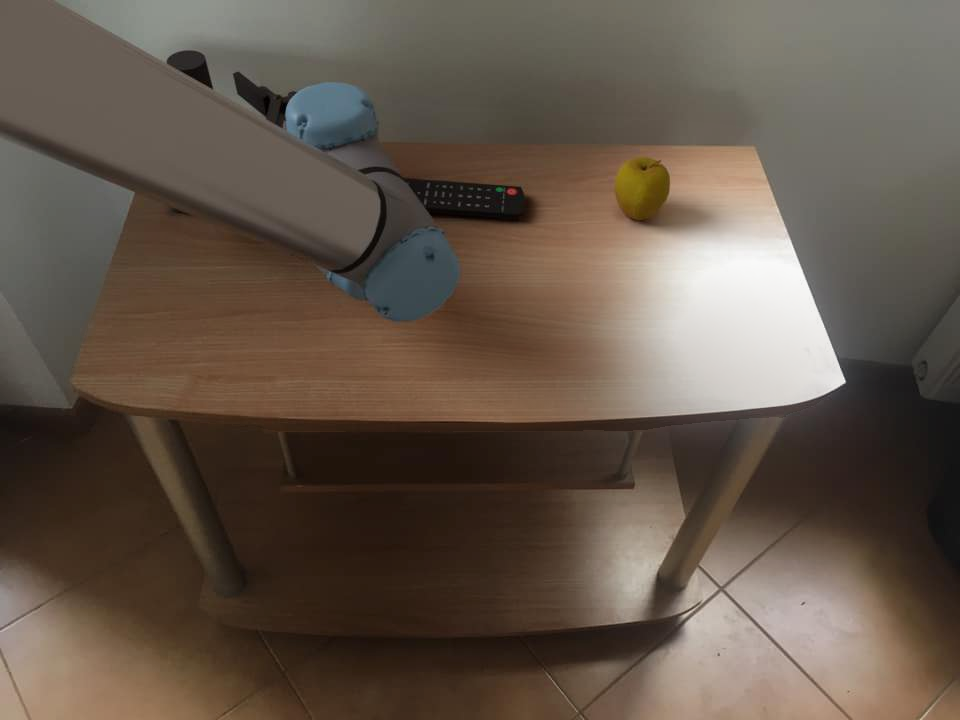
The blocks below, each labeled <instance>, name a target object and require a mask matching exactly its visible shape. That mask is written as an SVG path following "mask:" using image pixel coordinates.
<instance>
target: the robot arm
mask: <svg viewBox="0 0 960 720" xmlns="http://www.w3.org/2000/svg"><path fill="white" fill-rule="evenodd" d="M232 77H233V80H234V81H233V82H234V85H235V90H236V95H238V96H239V97H240V98H242V100H244V101H245V102H246V103H248V104H249V105H250V106H251V107H252V108H254V109H255V110H256V111H257V112H259V113H260V114H261V115H262V116H261V115H259V114H257V113H256V112H254V111H252V110H250V109H248V108H246V107H245V106H243V105H241V104H240V103H237V102H236V101H234V100H232V99H231V98H228V97H227V96H225V95H224V94H222V93H220V92H218V91H216V90H214V88H213V89H211V88H209V87H207V86H206V85H204V84H202V83H200V82H199V81H197V80H195V79H193V78H191V77H190V76H188V75H186V74H184V73H182V72H181V71H179V70H177V69H175V68H174V67H172V66H170V65H168V64H167V62H165V61H163V60H161V59H159V58H158V57H155V56H154V55H153V54H150V53H149V52H147V51H145V50H143V49H141V48H140V47H138V46H136V45H135V44H132V43H131V42H129V41H128V40H125V39H124V38H122V37H120V36H118V35H116V34H115V33H113V32H111V31H109V30H108V29H106V28H104V27H102V26H101V25H99V24H98V23H95V22H94V21H91V20H90V19H88V18H86V17H85V16H83V15H81V14H79V13H78V12H76V11H73V10H72V9H70V8H68V7H67V6H65V5H63V4H61V3H60V2H57V1H56V0H0V139H3V140H5V141H7V142H10V143H13V144H15V145H17V146H19V147H22V148H25V149H27V150H29V151H32V152H35V153H36V154H39V155H42V156H44V157H46V158H50V159H52V160H55V161H56V162H58V163H62V164H64V165H67V166H69V167H72V168H74V169H77V170H79V171H82V172H84V173H87V174H89V175H92V176H94V177H96V178H99V179H101V180H104V181H106V182H109V183H111V184H113V185H116V186H119V187H121V188H124V189H126V190H128V191H131V192H133V193H136V194H138V195H141V196H143V197H146V198H149V199H151V200H153V201H156V202H159V203H161V204H164V205H165V206H168V207H171V208H172V209H173V208H175V209H178V210H180V211H183V212H182V213H186V214H188V215H190V216H193V217H195V218H198V219H201V220H203V221H205V222H208V223H210V224H212V225H215V226H218V227H221V228H223V229H225V230H228V231H229V232H233V233H235V234H237V235H240V236H242V237H245V238H247V239H249V240H253V241H255V242H257V243H260V244H262V245H265V246H267V247H270V248H273V249H275V250H277V251H279V252H282V253H285V254H287V255H290V256H292V257H295V258H297V259H299V260H301V261H305V262H307V263H309V264H311V265H313V266H314V267H315V268H316V269H317V270H318V271H320V272H321V273H322V274H323V275H324V276H325V277H326V279H327V282H329V283H330V284H332V285H334V286H336V287H337V288H338V289H339V290H341V291H342V292H344V294H346V295H347V296H348V297H350V298H352V299H354V300H357V301H367V302H369V303H370V304H371V305H372V307H373V309H375V311H376V312H377V314H378V315H380V316H381V317H383V318H384V319H386V320H389V321H391V322H395V323H407V322H414V321H418V320H421V319H423V318H426V317H427V316H430V315H432V314H433V313H435V312H436V311H437V310H439V309H440V308H442V307H443V305H444V303H445V302H446V301H448V300H449V298H450V297H451V296H452V295H454V293H455V291H456V289H457V287H458V284H459V281H460V279H461V278H460V277H461V265H460V260H459V258H458V255H457V254H456V252H455V251H454V249H453V247H452V245H451V243H450V241H449V240H448V238H447V234H446V233H445V231H444V230H443V228H441V227H440V226H439V225H438V224H437V222H436V221H435V220H434V218H433V217H432V215H431V214H430V212H428V211H427V210H426V209H425V207H424V206H423V205H422V203H421V202H420V201H419V199H418V198H417V196H416V195H415V194H414V192H413V191H412V190H411V188H410V187H409V185H408V184H407V183H406V181H405V180H404V178H405V177H403V175H402V174H401V172H400V170H399V169H398V168H397V167H396V165H395V164H394V162H393V161H392V159H391V158H390V156H389V155H388V154H387V152H386V150H385V149H384V148H383V147H382V145H381V143H380V140H379V130H380V123H379V121H378V118H377V114H376V113H377V112H376V106H375V103H374V101H373V99H372V97H371V96H370V95H369V94H368V93H367V92H366V91H365V90H363V89H362V88H360V87H358V86H356V85H353V84H349V83H345V82H338V81H326V82H322V83H318V84H312V85H309V86H306V87H303V88H302V89H300V90H299V91H295V90H293V91H289V92H288V93H287V95H285V96H283V95H281V94H279V93H277V94H276V93H274V92H273V91H272V90H271V89H269V88H268V87H267V86H265V85H260V86H258V85H256V84H255V83H254V82H253V81H251V80H250V79H249V78H248V77H246V76H245V75H244V74H243V73H242V72H240V71H239V70H238V71H236V72H233V73H232ZM263 116H264V117H265V118H264V117H263ZM284 123H286V130H285V129H284Z"/></svg>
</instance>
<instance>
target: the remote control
mask: <svg viewBox="0 0 960 720" xmlns="http://www.w3.org/2000/svg"><path fill="white" fill-rule="evenodd" d="M403 178H404V180H405V181H406V183H407V184H408V185H409V187H410V188H411V190H412V191H413V192H414V194H415V195H416V196H417V198H418V199H419V201H420V202H421V203H422V205H423V206H424V207H425V209H426V210H427V211H428V213H429V214H430V213H432V214H443V215H445V214H446V215H459V216H472V217H486V218H497V219H511V220H520V219H521V218H522V217H523V215H524V211H525V203H526V198H525V192H524V190H523V188H522V186H519V185H503V184H490V183H478V182H477V183H476V182H463V181H450V180H449V181H448V180H439V179H438V180H437V179H436V180H435V179H424V178H408V177H403Z"/></svg>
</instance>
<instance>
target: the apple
mask: <svg viewBox="0 0 960 720" xmlns="http://www.w3.org/2000/svg"><path fill="white" fill-rule="evenodd" d="M661 162H662V159H659V160H657V159H655V158H651V157H636V158H631V159H628V160H627V161H625V162H624V163H623V164H622V165H621V166H620V168H619V169H618V172H617V174H616V176H615V180H614V194H615V198H616V202H617V204H618V207H619V208H620V211H621V212H622V213H623V215H625V217H626V218H628V219H632V220H635V221H642V220H643V221H644V220H646V219H650V218H652V217H653V216H655V215H656V214H657V213H658V212H659V210H661V208H662V207H663V206H664V204H665V203H666V201H667V200H668V197H669V194H670V189H671V176H670V172H669V171H668V169H667V168H666V166H665V165H663V164H662V163H661Z"/></svg>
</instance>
